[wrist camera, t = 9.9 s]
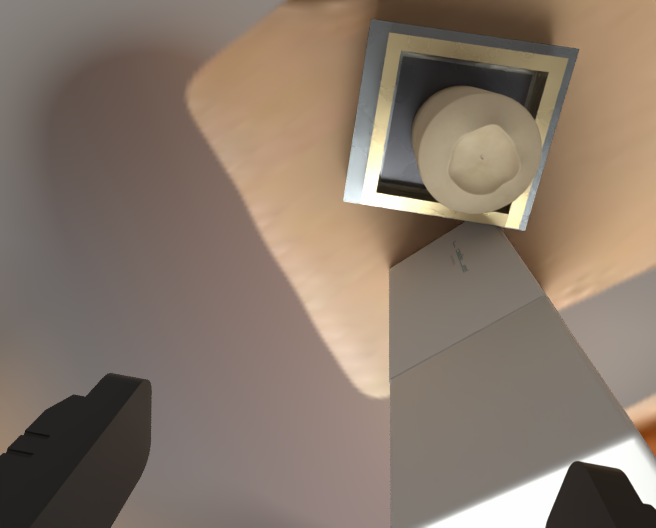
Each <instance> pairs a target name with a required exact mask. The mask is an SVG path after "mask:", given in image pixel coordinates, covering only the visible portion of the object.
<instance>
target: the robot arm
mask: <svg viewBox="0 0 656 528" xmlns="http://www.w3.org/2000/svg"><path fill="white" fill-rule="evenodd" d="M151 395H152V391H151V383H150V381H149V380H146V379H140V378H135V377H130V376H124V375H119V374H113V373H109V374H107V375H105V376H104V378H102V379H101V380H100V381H99V383H98V384H97V385H96V386H95V387H94V388H93V389H92V390H91V391H90V393H89V394H88V395H87V396H86V397H84V396H78V395H72V396H70V397H68V398H66V399H65V400H63V401H61V402H59V403H57V404H56V405H54V406H52V407H50V408H48V409H46V410H45V411H44V412H43V413H42V414H41V415H40V416H39V417H38V418H37V419H36V420H35V421H34V422H33V423H32V424H31V425H30V426H29V427H28V428H27V429H26V430H25V433H24V435H20V436H19V437H18V438H17V440H15V441H14V443H12V444H11V445H10V446H9V447H8V449H7V452H6V453H3V454H2V455H1V456H0V528H111V526H112V524H113V523H114V521H115V519H116V518H117V516H118V514H119V513H120V511H121V509H122V508H123V506H124V504H125V502H126V501H127V499H128V497H129V496H130V494H131V492H132V491H133V489H134V487H135V486H136V484H137V482H138V481H139V479H140V477H141V475H142V473H143V471H144V468H145V466H146V463H147V460H148V456H149V452H150V445H151ZM545 528H656V509H655V508H654V507H653V506H652V505H650V504H645V503H643V502H642V501H641V499H640V497H639V496H638V494H637V492H636V491H635V489H634V487H633V486H632V484H631V482H630V480H629V479H628V477H627V476H626V474H625V473H624V472H623V471H622V470H620V469H618V468H613V467H608V466H602V465H597V464H591V463H586V462H581V461H575V462H573V463H572V464H571V465H570V467H569V468H568V471H567V473H566V475H565V478H564V480H563V483H562V485H561V487H560V490H559V492H558V495H557V497H556V499H555V502H554V504H553V507H552V509H551V512H550V514H549V516H548V519H547V522H546V526H545Z"/></svg>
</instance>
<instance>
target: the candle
mask: <svg viewBox="0 0 656 528" xmlns="http://www.w3.org/2000/svg"><path fill="white" fill-rule="evenodd" d="M411 141H412V147H413V151H414V155H415V158H416V162H417V165H418V169H419V172H420V176H421V178H422V181H423V183H424V185H425V187H426V188H427V190H428V191H429V193H430V194H431V195H432V196H433V197H434V198H435V199H436V200H437V201H438V202H440V203H441V204H442V205H444V206H446V207H448V208H450V209H452V210H455V211H458V212H462V213H469V214H480V213H487V212H491V211H495V210H498V209H500V208H502V207H504V206H506V205H508V204H510V203H511V202H513V201H514V200H516V199H517V198H518V197H519V196H520V195H521V194H522V193H523V192H524V191H525V190H526V189H527V188H528V186H529V185H530V184H531V182H532V181H533V179H534V177H535V175H536V173H537V170H538V168H539V164H540V160H541V154H542V141H541V135H540V132H539V128H538V126H537V124H536V122H535V120H534V118H533V117H532V115H531V114H530V113H529V111H528V110H527V109H526V108H525V107H524V106H522V105H521V104H520V103H519V102H517V101H515V100H514V99H512V98H510V97H507V96H505V95H502V94H498V93H494V92H490V91H487V90H483V89H479V88H475V87H471V86H452V87H448V88H444V89H442V90H440V91H438V92H436V93H435V94H433V95H432V96H430V97H429V98H428V99H427V100H426V101H425V102H424V103H423V104H422V106H421V107H420V108H419V110H418V112H417V113H416V116H415V118H414V121H413V124H412V130H411Z"/></svg>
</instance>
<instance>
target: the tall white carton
mask: <svg viewBox="0 0 656 528" xmlns="http://www.w3.org/2000/svg"><path fill="white" fill-rule="evenodd" d="M389 383H390V483H391V484H390V486H391V487H390V491H391V493H390V495H391V498H390V501H391V502H390V507H391V508H390V509H391V528H545V526H546V522H547V519H548V516H549V514H550V512H551V509H552V507H553V504H554V502H555V499H556V497H557V495H558V492H559V490H560V487H561V485H562V483H563V480H564V478H565V475H566V473H567V471H568V468H569V467H570V465H571V464H572V463H573V462H575V461H581V462H586V463H591V464H597V465H602V466H608V467H613V468H618V469H620V470H622V471H623V472H624V473H625V474H626V476H627V477H628V479H629V480H630V482H631V484H632V486H633V487H634V489H635V491H636V492H637V494H638V496H639V497H640V499H641V501H642V502H643V503H645V504H650V505H652V506H653V507H654V508H655V509H656V457H655V455H654V454H653V452H652V451H651V449H650V448H649V446H648V445H647V443H646V442H645V440H644V439H643V437H642V436H641V434H640V432H639V431H638V430H637V428H636V427H635V425H634V424H633V422H632V421H631V419H630V418H629V416H628V415H627V413H626V412H625V411H624V409H623V408H622V406H621V405H620V403H619V402H618V400H617V399H616V397H615V396H614V394H613V393H612V392H611V390H610V389H609V387H608V386H607V384H606V383H605V381H604V380H603V378H602V377H601V375H600V374H599V373H598V371H597V370H596V368H595V367H594V366H593V364H592V362H591V361H590V360H589V358H588V356H587V355H586V354H585V352H584V351H583V349H582V348H581V347H580V345H579V343H578V342H577V340H576V339H575V337H574V336H573V334H572V333H571V332H570V330H569V328H568V327H567V325H566V324H565V322H564V321H563V319H562V318H561V316H560V315H559V313H558V311H557V310H556V308H555V307H554V305H553V304H552V302H551V301H550V299H549V298H548V296H547V295H546V293H545V292H544V291H543V289H542V288H541V286H540V285H539V283H538V282H537V280H536V279H535V277H534V276H533V275H532V273H531V272H530V270H529V269H528V267H527V266H526V264H525V263H524V261H523V260H522V259H521V257H520V256H519V254H518V253H517V251H516V250H515V248H514V247H513V246H512V244H511V243H510V241H509V240H508V238H507V237H506V235H505V234H504V232H503V231H502V230H501V228H500V227H498V226H492V225H486V224H480V223H474V222H467V221H465V222H464V223H462V224H460V225H459V226H457V227H456V228H454V229H452V230H451V231H449V232H448V233H446V234H444V235H443V236H441V237H440V238H438V239H436V240H435V241H433V242H432V243H430V244H428V245H427V246H425V247H424V248H422V249H420V250H419V251H417V252H416V253H414V254H412V255H411V256H409V257H408V258H406V259H404V260H403V261H401V262H400V263H398V264H396V265H395V266H393V267H392V268H390V270H389Z"/></svg>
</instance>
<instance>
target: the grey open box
mask: <svg viewBox="0 0 656 528" xmlns="http://www.w3.org/2000/svg"><path fill="white" fill-rule="evenodd" d="M578 52H579V49H576V48H569V47H562V46H555V45H548V44H541V43H534V42H527V41H520V40H513V39H506V38H499V37H492V36H486V35H479V34H472V33H465V32H458V31H451V30H444V29H437V28H430V27H423V26H416V25H409V24H402V23H395V22H388V21H381V20H374V19H371V22H370V29H369V35H368V42H367V48H366V55H365V61H364V68H363V74H362V81H361V87H360V94H359V101H358V107H357V114H356V120H355V127H354V133H353V140H352V146H351V153H350V159H349V166H348V172H347V179H346V186H345V192H344V199H343V201H345V202H351V203H357V204H364V205H370V206H376V207H382V208H388V209H394V210H400V211H406V212H412V213H419V214H425V215H431V216H437V217H443V218H449V219H455V220H461V221H467V222H474V223H480V224H486V225H492V226H498V227H504V228H510V229H516V230H522V231H525V229H526V226H527V222H528V219H529V216H530V212H531V209H532V206H533V202H534V199H535V196H536V192H537V189H538V186H539V182H540V179H541V176H542V172H543V169H544V166H545V162H546V159H547V156H548V152H549V149H550V145H551V142H552V139H553V135H554V132H555V129H556V125H557V122H558V119H559V115H560V112H561V109H562V105H563V102H564V99H565V95H566V92H567V89H568V85H569V82H570V79H571V75H572V72H573V69H574V65H575V62H576V59H577V55H578ZM452 86H471V87H475V88H479V89H483V90H487V91H490V92H494V93H498V94H502V95H505V96H507V97H510V98H512V99H514V100H515V101H517V102H519V103H520V104H521V105H522V106H524V107H525V108H526V109H527V110H528V111H529V113H530V114H531V115H532V117H533V118H534V120H535V122H536V124H537V126H538V128H539V132H540V135H541V141H542V154H541V160H540V164H539V168H538V170H537V173H536V175H535V177H534V179H533V181H532V182H531V184H530V185H529V186H528V188H527V189H526V190H525V191H524V192H523V193H522V194H521V195H520V196H519V197H518V198H517V199H516V200H514V201H513V202H511V203H510V204H508V205H506V206H504V207H502V208H500V209H498V210H495V211H491V212H487V213H480V214H469V213H462V212H458V211H455V210H452V209H450V208H448V207H446V206H444V205H442V204H441V203H440V202H438V201H437V200H436V199H435V198H434V197H433V196H432V195H431V194H430V193H429V191H428V190H427V188H426V187H425V185H424V183H423V181H422V178H421V176H420V172H419V169H418V165H417V162H416V158H415V155H414V151H413V147H412V141H411V130H412V124H413V121H414V118H415V116H416V113H417V112H418V110H419V108H420V107H421V106H422V104H423V103H424V102H425V101H426V100H427V99H428V98H429V97H430V96H432V95H433V94H435V93H436V92H438V91H440V90H442V89H444V88H448V87H452Z"/></svg>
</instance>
